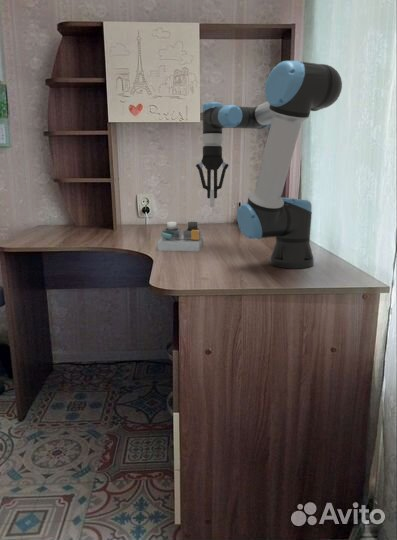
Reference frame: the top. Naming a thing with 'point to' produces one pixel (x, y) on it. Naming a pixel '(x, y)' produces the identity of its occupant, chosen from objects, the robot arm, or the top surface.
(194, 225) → the button
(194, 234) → the slider knob
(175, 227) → the button
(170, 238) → the teal rectangular block
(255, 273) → the top surface
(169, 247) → the panel
